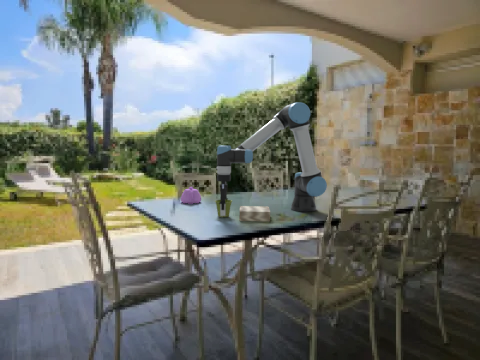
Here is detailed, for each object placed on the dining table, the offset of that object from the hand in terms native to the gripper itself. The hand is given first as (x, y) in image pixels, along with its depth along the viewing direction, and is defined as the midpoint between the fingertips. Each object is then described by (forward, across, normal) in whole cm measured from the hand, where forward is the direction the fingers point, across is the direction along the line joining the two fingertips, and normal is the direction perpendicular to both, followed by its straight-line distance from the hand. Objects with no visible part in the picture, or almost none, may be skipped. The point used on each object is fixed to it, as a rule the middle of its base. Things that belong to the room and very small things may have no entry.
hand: (223, 213), depth 199 cm
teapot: (+2, -46, -25) cm, 52 cm away
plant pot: (+2, 0, 0) cm, 2 cm away
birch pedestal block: (+1, +3, +17) cm, 17 cm away
